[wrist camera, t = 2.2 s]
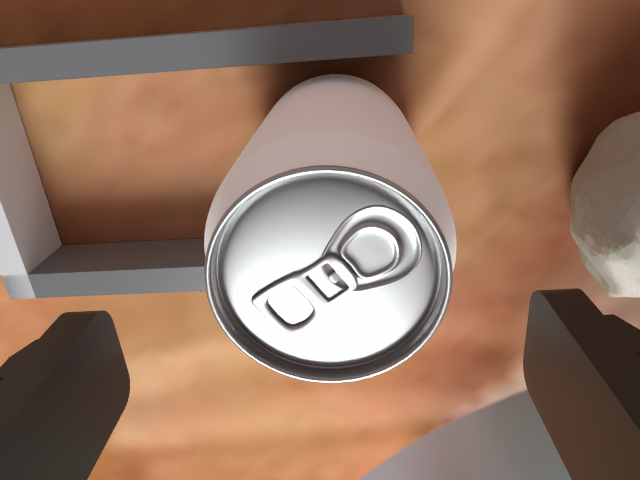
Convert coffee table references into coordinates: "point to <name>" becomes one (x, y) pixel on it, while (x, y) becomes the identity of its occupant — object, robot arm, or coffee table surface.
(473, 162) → the coffee table surface
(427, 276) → the can
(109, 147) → the coffee table surface
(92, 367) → the robot arm
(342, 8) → the coffee table surface
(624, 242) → the ceramic sculpture
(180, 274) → the frame
